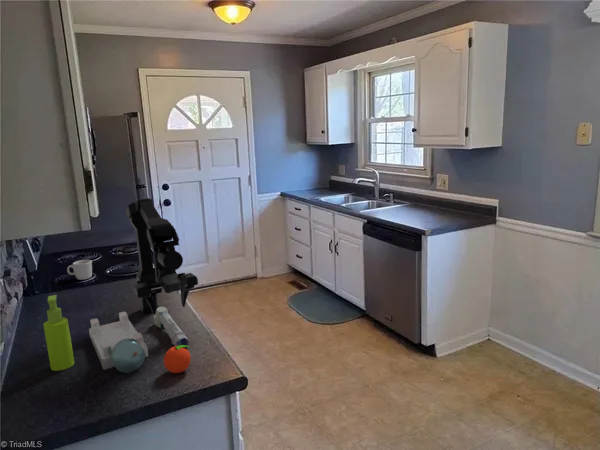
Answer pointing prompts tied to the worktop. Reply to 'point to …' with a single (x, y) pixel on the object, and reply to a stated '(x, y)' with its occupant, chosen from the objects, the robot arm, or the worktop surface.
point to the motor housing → (118, 344)
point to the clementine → (177, 359)
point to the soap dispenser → (58, 338)
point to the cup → (81, 269)
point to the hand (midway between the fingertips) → (169, 310)
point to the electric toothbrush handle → (170, 327)
